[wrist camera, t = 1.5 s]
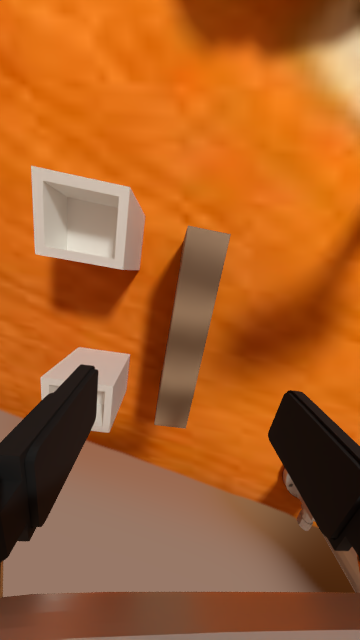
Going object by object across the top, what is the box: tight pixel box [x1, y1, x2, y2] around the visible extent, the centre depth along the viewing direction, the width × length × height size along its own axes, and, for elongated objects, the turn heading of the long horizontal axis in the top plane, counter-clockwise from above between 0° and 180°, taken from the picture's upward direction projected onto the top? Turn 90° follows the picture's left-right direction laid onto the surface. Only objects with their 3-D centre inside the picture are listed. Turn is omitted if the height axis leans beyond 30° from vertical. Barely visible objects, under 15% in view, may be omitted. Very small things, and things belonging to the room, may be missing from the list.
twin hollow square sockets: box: [31, 166, 145, 433], centre depth 19 cm, size 24×7×7 cm, turn 170°
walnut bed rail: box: [154, 226, 231, 428], centre depth 20 cm, size 20×4×7 cm, turn 170°
